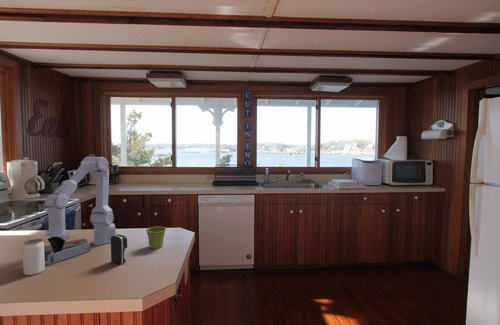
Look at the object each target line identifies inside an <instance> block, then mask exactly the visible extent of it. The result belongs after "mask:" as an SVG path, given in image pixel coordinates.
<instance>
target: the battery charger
mask: <svg viewBox="0 0 500 325" xmlns="http://www.w3.org/2000/svg"><path fill="white" fill-rule="evenodd" d="M127 248H128V238H127V236H126V235H122V234H118V233H117V234H116V235H113V236H112V237H111V243H110V261H111V262H113V263H115V264H119V265H123V264H125V263H127V261H126V259H125V250H126V249H127Z"/></svg>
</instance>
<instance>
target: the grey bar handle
mask: <svg viewBox="0 0 500 325" xmlns="http://www.w3.org/2000/svg"><path fill="white" fill-rule="evenodd" d="M90 247H91V246H90V242H88V243H86V244H83V245H80V246H76V247H73V248H70V249H66V250H63V251H60V252H57V253H53V254H50V255H48V260H47V265H53V264H56V263H59V262H61V261H65V260H67V259H71V258H73V257H77V256H79V255H82V254H85V253H88V252H90V250H91V248H90Z"/></svg>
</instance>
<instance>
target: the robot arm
mask: <svg viewBox="0 0 500 325" xmlns="http://www.w3.org/2000/svg"><path fill="white" fill-rule="evenodd" d="M88 173H93V174H94V175H96V187H95V188H96V189H95V206H94V207H93V208H92V210H91V215H90V216H89V220H90V223H91V224H92V226H93V239H94V240H91V243H92V244H93V245H94V246H96V247H97V246H100V245H101V246H102V245H105V244H106V245H107V244H111V237H112V236H113V235H117V234H116V233H117V231H116V225H115V223H113V222H114V219H115V218H114V217H115V216H114V214H113V213H114V212H113V209H112V208H111V207H110V206H109V187H110V186H109V181H110V170H109V161H108V159H106V157H105V156H85V157H84V158H83V159H82V160H81V161H80V166H79V167H78V168H77V169H76V171H75V172H74V174H72V176H71V177H70V178H69V179H65V180H63V181H62V182H61V184H60V186H58V188H57V189H55V190H54V192H53V193H52V194H49V195H48V196H47V197H46V198H45V201H44V202H43V204H44V206H45V207H46V209H47V212H48V213H47V214H48V229H47V230H45V237H46V238H47V241H48V242H49V245H51V246H52V249H53V252H54V253H57V252H60V251H62V248H63V245H64V243H65V242H67V240H70V235H71V234H69V233H68V232H67V231H66V210H65V209H66V207H67V205H68V204H69V200H70V197H71V196H72V195H73V193H74V192H75V191H76V190H77V189H78V183H79V182H81V180H83V178H84V177H85V176H87V174H88Z"/></svg>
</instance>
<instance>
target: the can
mask: <svg viewBox="0 0 500 325" xmlns="http://www.w3.org/2000/svg"><path fill="white" fill-rule="evenodd" d="M43 241H44V240H43V239H42V238H41V239H40V238H36V239H30V240H26V241H24V242H23V246H22V262H23V263H22V264H23V265H22V268H23V269H22V270H23V275H24V276H34V275H38V274H40V273H42V272H44V271H45V270H46V269H45V268H46V266H45V265H46V264H45V262H46V259H45V254H44V246H45V242H43Z"/></svg>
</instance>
